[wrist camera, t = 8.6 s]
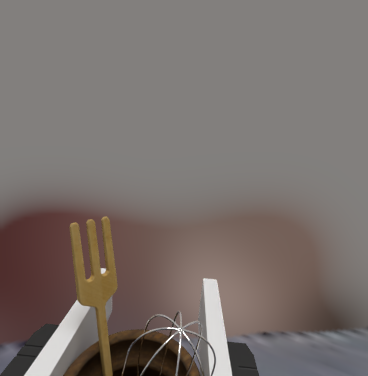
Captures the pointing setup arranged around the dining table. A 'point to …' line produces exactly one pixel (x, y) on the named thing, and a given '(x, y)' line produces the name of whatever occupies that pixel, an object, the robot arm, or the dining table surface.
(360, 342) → the dining table surface
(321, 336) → the dining table surface
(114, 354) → the utensil holder
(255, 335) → the dining table surface
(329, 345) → the dining table surface
